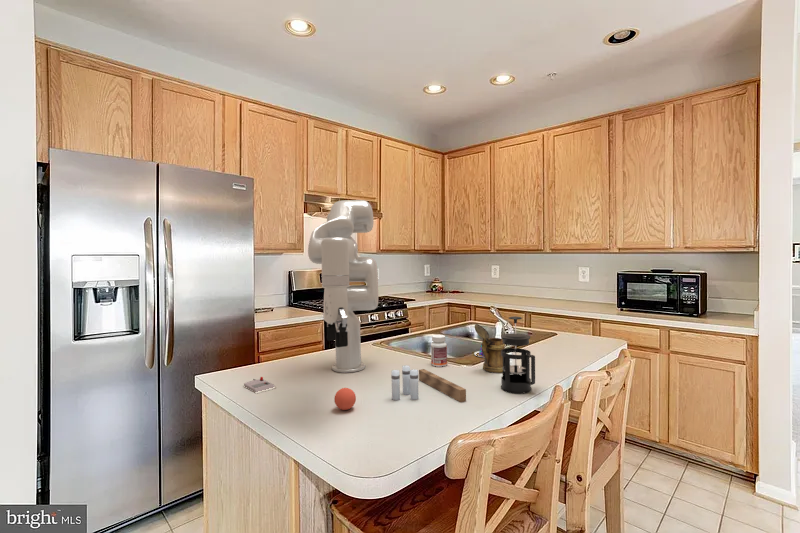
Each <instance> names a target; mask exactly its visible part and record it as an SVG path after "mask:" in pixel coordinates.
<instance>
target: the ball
mask: <svg viewBox="0 0 800 533" xmlns="http://www.w3.org/2000/svg"><path fill="white" fill-rule="evenodd" d="M356 397H357V396H356V393H355V392H354V390H352V389H351V388H349V387H342V388H340V389H338V390H337V391H336V393H335V395H334V400H333V401H334V404H335V407H337V408H338V409H340V410H341V411H348V410H350V409H351V408H353V407H354V405H355V404H356V401H357V398H356Z"/></svg>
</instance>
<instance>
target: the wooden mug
mask: <svg viewBox="0 0 800 533" xmlns="http://www.w3.org/2000/svg"><path fill="white" fill-rule="evenodd" d="M474 331H475V332H476V333H477V335H478V336H479V337H480V338H481V339H482V341H481V344H482V353H483V355H484V357H483V358H484V362H483V365H482V370H483V371H484V372H487V371H488V373H491V372H493V373H492V374H501V373H502V372H503V369H502V368H503V356H501V350H503V349H506V346H505V345H506V344H503V340H502V338H501V337H500V338H499V337H490V334H489V332H488V331H487V329H486V328H485V327H483V326H482V325H480V324H478V323H476V324H474ZM502 374H503V373H502Z"/></svg>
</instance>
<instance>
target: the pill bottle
mask: <svg viewBox="0 0 800 533" xmlns="http://www.w3.org/2000/svg"><path fill="white" fill-rule="evenodd" d="M447 346H448V344H447V342H446V335H443V334H433V335H431V343H430V356H431V357H430V359H431V360H430V362H431V366H432V367H435V366H436V367H437V368H438V367H439V368H440V367H442V366H443V367H446V366H448V347H447Z"/></svg>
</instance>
